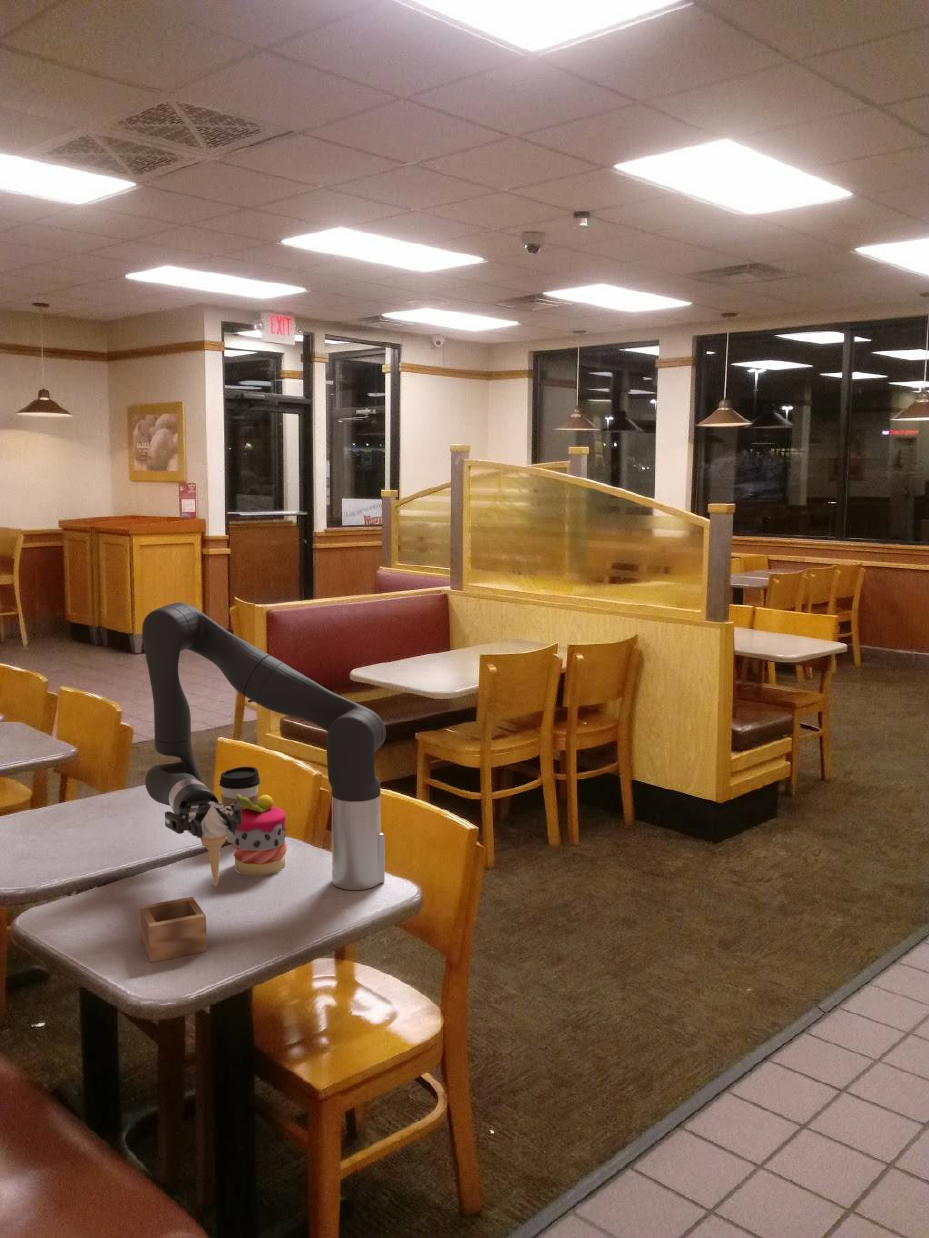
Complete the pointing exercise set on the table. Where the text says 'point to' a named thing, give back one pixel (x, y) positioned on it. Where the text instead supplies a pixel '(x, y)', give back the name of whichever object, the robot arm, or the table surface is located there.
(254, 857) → the cake
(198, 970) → the table surface
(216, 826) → the ice cream cone
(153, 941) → the cone holder
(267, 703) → the robot arm
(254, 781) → the coffee cup
